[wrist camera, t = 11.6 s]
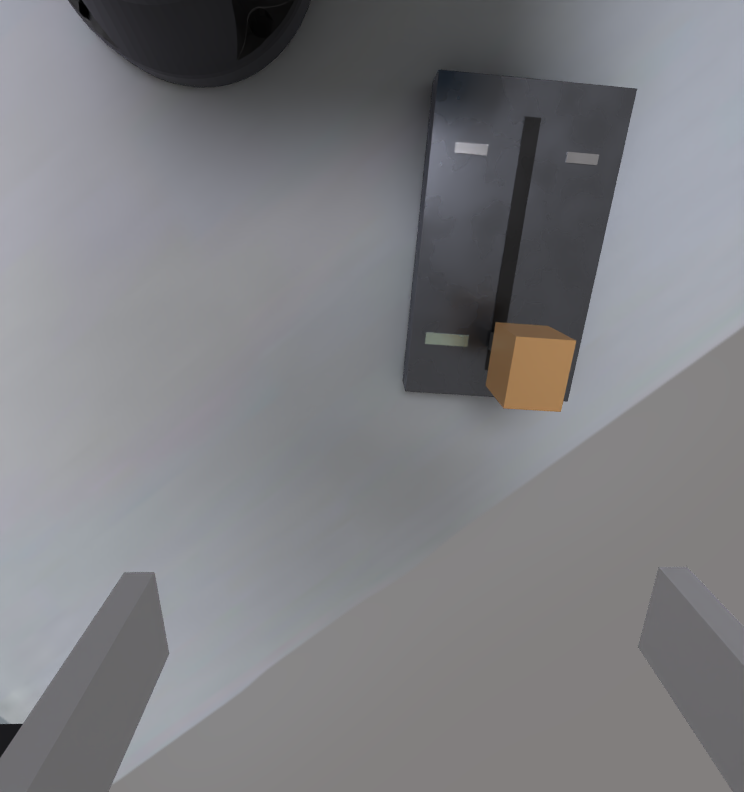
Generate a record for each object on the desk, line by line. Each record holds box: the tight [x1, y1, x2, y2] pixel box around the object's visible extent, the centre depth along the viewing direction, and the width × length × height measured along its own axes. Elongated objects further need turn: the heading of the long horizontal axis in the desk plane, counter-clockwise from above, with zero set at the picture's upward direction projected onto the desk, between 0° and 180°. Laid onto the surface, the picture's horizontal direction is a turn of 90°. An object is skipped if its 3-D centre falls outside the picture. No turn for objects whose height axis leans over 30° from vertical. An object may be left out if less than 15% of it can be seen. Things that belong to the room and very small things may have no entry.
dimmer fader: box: [486, 322, 576, 412], centre depth 30 cm, size 4×3×8 cm
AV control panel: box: [403, 70, 637, 401], centre depth 33 cm, size 20×12×3 cm, turn 176°
